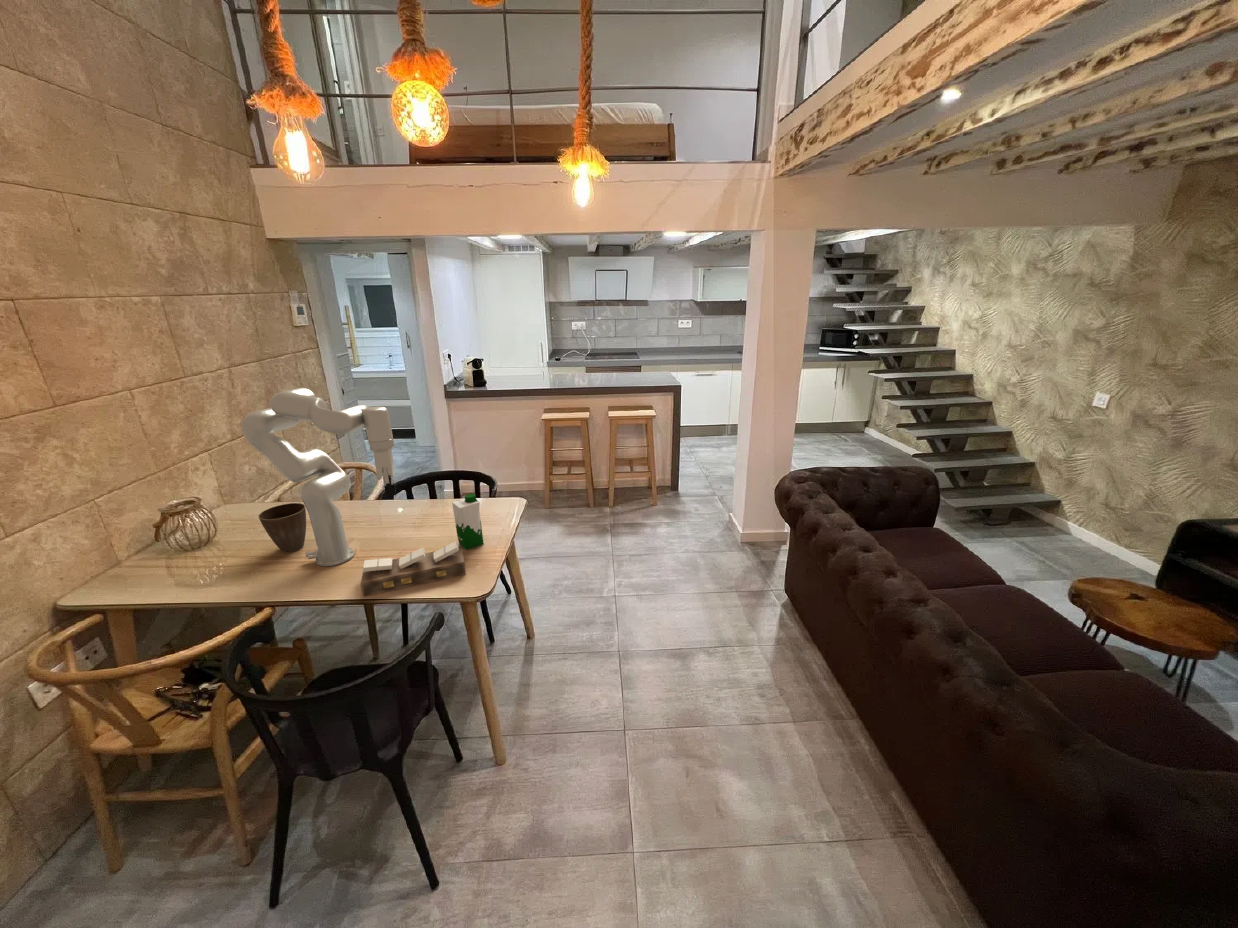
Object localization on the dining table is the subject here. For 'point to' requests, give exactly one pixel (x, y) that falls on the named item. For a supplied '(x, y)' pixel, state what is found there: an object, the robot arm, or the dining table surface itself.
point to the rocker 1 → (377, 564)
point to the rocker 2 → (411, 558)
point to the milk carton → (468, 522)
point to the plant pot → (286, 525)
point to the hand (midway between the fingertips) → (391, 494)
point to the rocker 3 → (445, 551)
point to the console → (413, 573)
